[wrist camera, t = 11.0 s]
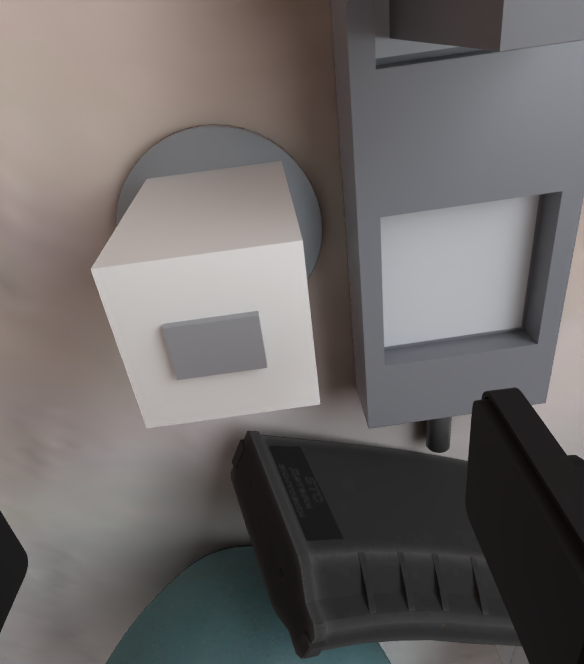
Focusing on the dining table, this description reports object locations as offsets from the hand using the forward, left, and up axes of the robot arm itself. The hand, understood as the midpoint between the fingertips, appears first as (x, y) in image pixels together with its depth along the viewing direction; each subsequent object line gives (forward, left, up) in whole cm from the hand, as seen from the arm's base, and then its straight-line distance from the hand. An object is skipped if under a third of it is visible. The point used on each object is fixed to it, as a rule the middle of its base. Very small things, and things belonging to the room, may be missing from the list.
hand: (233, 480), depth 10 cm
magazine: (-17, -12, -13) cm, 25 cm away
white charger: (0, 0, -12) cm, 12 cm away
